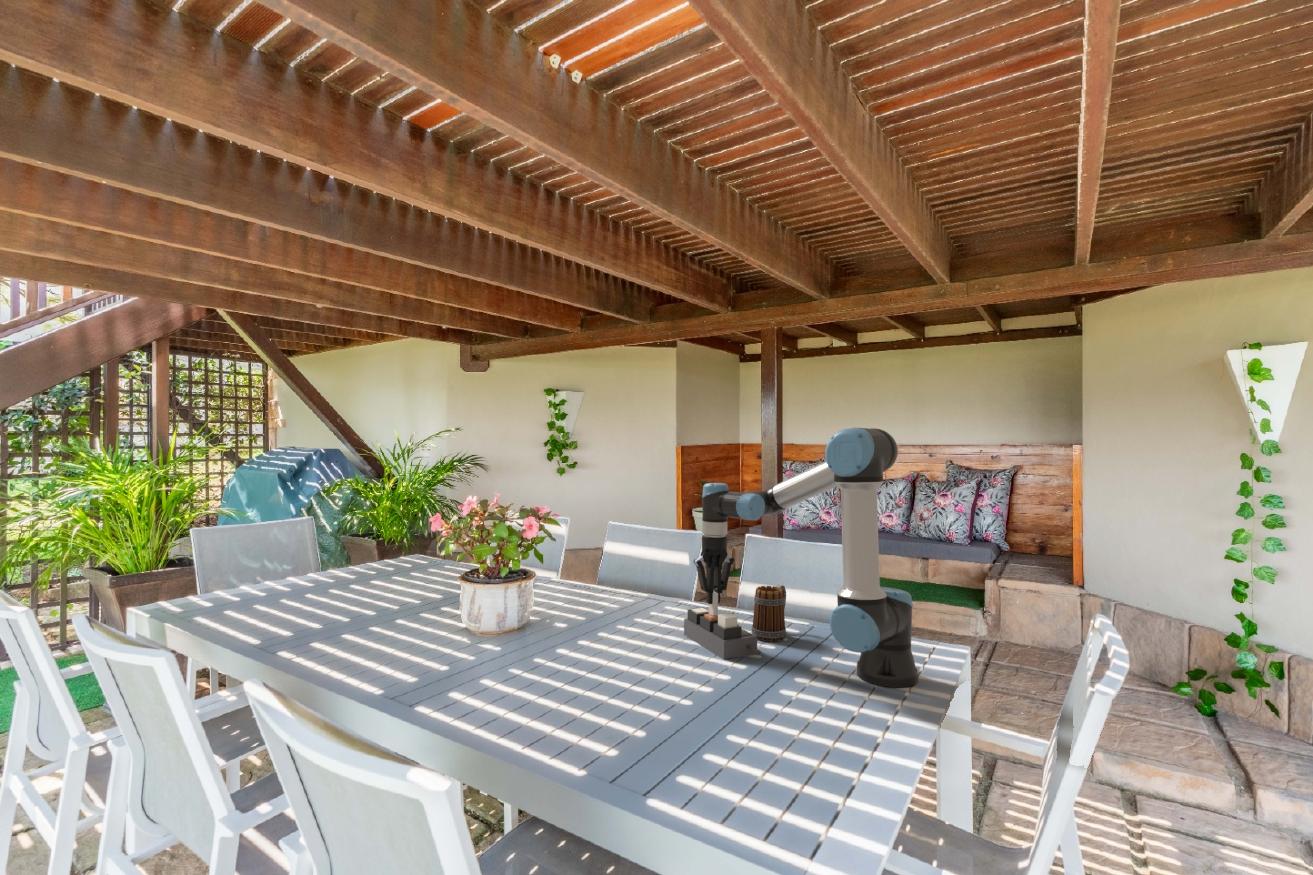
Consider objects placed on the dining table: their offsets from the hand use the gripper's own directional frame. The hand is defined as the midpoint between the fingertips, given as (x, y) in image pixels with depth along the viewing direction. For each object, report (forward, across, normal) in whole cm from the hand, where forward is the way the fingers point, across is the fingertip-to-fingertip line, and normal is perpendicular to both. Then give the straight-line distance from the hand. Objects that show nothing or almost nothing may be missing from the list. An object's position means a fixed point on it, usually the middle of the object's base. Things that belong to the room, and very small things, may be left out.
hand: (713, 614), depth 194 cm
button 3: (+4, 0, -8) cm, 9 cm away
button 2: (+3, 0, 0) cm, 3 cm away
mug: (+9, -22, -1) cm, 24 cm away
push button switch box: (+9, -2, +3) cm, 10 cm away
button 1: (+1, 0, +8) cm, 8 cm away
